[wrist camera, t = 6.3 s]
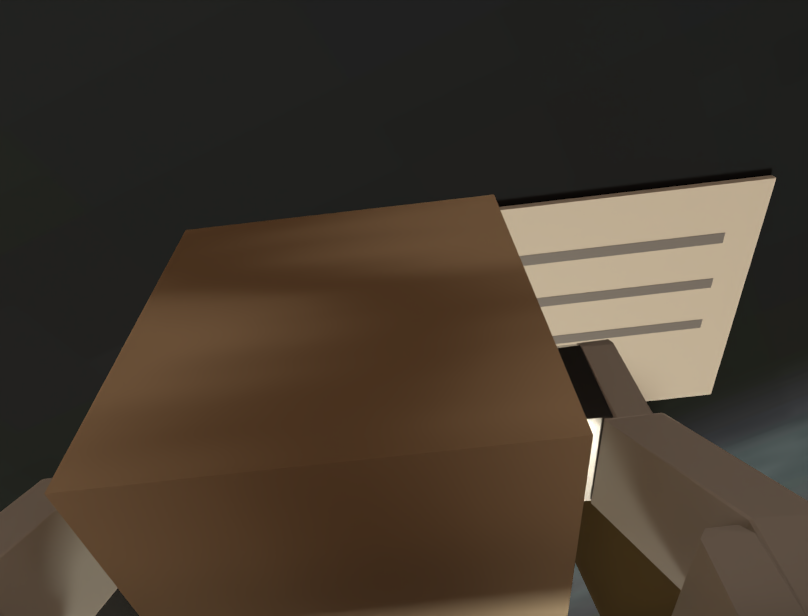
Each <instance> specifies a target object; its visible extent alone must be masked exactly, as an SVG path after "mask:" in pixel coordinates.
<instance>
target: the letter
mask: <svg viewBox="0 0 808 616" xmlns="http://www.w3.org/2000/svg"><path fill="white" fill-rule="evenodd" d="M775 181H776V178H775V177H774V176H772V175H768V176H760V177H751V178H743V179H734V180H725V181H717V182H708V183H700V184H691V185H683V186H674V187H666V188H657V189H648V190H640V191H631V192H623V193H614V194H606V195H597V196H589V197H580V198H571V199H563V200H554V201H546V202H537V203H529V204H520V205H512V206H503V207H499V208H500V211H501V213H502V215H503V218H504V220H505V223H506V225H507V227H508V230H509V232H510V235H511V237H512V240H513V242H514V244H515V247H516V249H517V252H518V254H519V257H520V259H521V261H522V264H523V266H524V269H525V271H526V273H527V276H528V278H529V281H530V283H531V286H532V288H533V290H534V293H535V295H536V298H537V300H538V302H539V305H540V307H541V310H542V312H543V315H544V317H545V319H546V322H547V324H548V327H549V329H550V331H551V334H552V336H553V339H554V341H555V344H556V346H561V345H570V344H577V343H582V342H590V341H598V340H606V339H609V340H610V341H612V342H613V343H614V345H615V346H616V348H617V350H618V352H619V354H620V355H621V357H622V359H623V361H624V363H625V364H626V366H627V368H628V370H629V372H630V374H631V375H632V377H633V379H634V381H635V383H636V384H637V386H638V388H639V390H640V392H641V393H642V395H643V397H644V399H645V401H654V400H663V399H672V398H681V397H690V396H699V395H708V394H711V392H712V388H713V385H714V382H715V378H716V375H717V372H718V369H719V365H720V362H721V359H722V355H723V352H724V349H725V346H726V342H727V339H728V336H729V332H730V329H731V326H732V322H733V319H734V316H735V313H736V309H737V306H738V303H739V299H740V296H741V293H742V289H743V286H744V283H745V280H746V276H747V273H748V270H749V266H750V263H751V260H752V256H753V253H754V250H755V247H756V243H757V240H758V237H759V233H760V230H761V227H762V223H763V220H764V217H765V214H766V210H767V207H768V204H769V200H770V197H771V194H772V190H773V187H774V184H775Z"/></svg>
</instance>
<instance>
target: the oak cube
mask: <svg viewBox="0 0 808 616" xmlns="http://www.w3.org/2000/svg"><path fill="white" fill-rule="evenodd" d="M592 441H593V433H592V431H591V428H590V426H589V423H588V421H587V418H586V416H585V414H584V411H583V409H582V406H581V404H580V402H579V399H578V397H577V394H576V392H575V389H574V387H573V385H572V382H571V380H570V377H569V375H568V373H567V370H566V368H565V365H564V363H563V360H562V358H561V356H560V353H559V351H558V348H557V346H556V344H555V341H554V339H553V336H552V334H551V331H550V329H549V327H548V324H547V322H546V319H545V317H544V315H543V312H542V310H541V307H540V305H539V302H538V300H537V298H536V295H535V293H534V290H533V288H532V286H531V283H530V281H529V278H528V276H527V273H526V271H525V269H524V266H523V264H522V261H521V259H520V257H519V254H518V252H517V249H516V247H515V244H514V242H513V240H512V237H511V235H510V232H509V230H508V227H507V225H506V223H505V220H504V218H503V215H502V213H501V211H500V208H499V206H498V203H497V201H496V198H495V196H494V195H487V196H478V197H470V198H461V199H452V200H444V201H435V202H426V203H417V204H409V205H400V206H391V207H383V208H374V209H365V210H357V211H348V212H339V213H331V214H322V215H313V216H305V217H296V218H287V219H278V220H270V221H261V222H252V223H244V224H235V225H226V226H218V227H209V228H200V229H192V230H186V231H185V233H184V234H183V236H182V238H181V240H180V242H179V244H178V246H177V247H176V249H175V251H174V253H173V255H172V257H171V259H170V261H169V262H168V264H167V266H166V268H165V270H164V272H163V274H162V275H161V277H160V279H159V281H158V283H157V285H156V287H155V288H154V290H153V292H152V294H151V296H150V298H149V300H148V301H147V303H146V305H145V307H144V309H143V311H142V313H141V314H140V316H139V318H138V320H137V322H136V324H135V326H134V327H133V329H132V331H131V333H130V335H129V337H128V339H127V341H126V342H125V344H124V346H123V348H122V350H121V352H120V354H119V355H118V357H117V359H116V361H115V363H114V365H113V367H112V368H111V370H110V372H109V374H108V376H107V378H106V380H105V381H104V383H103V385H102V387H101V389H100V391H99V393H98V394H97V396H96V398H95V400H94V402H93V404H92V406H91V407H90V409H89V411H88V413H87V415H86V417H85V419H84V421H83V422H82V424H81V426H80V428H79V430H78V432H77V434H76V435H75V437H74V439H73V441H72V443H71V445H70V447H69V448H68V450H67V452H66V454H65V456H64V458H63V460H62V461H61V463H60V465H59V467H58V469H57V471H56V473H55V474H54V476H53V478H52V480H51V482H50V484H49V486H48V487H47V489H46V491H45V493H44V494H45V496H46V497H47V498H48V499H49V501H50V502H51V503H52V505H53V506H54V507H55V508H56V510H57V511H58V512H59V513H60V515H61V516H62V517H63V519H64V520H65V521H66V522H67V524H68V525H69V526H70V528H71V529H72V530H73V531H74V533H75V534H76V535H77V537H78V538H79V539H80V540H81V542H82V543H83V544H84V545H85V547H86V548H87V549H88V551H89V552H90V553H91V554H92V556H93V557H94V558H95V560H96V561H97V562H98V563H99V565H100V566H101V567H102V569H103V570H104V571H105V572H106V574H107V575H108V576H109V577H110V579H111V580H112V581H113V583H114V584H115V585H116V586H117V588H118V589H119V590H120V592H121V593H122V594H123V595H124V597H125V598H126V599H127V600H128V602H129V603H130V604H131V606H132V607H133V608H134V609H135V611H136V612H137V613H138V615H139V616H567V615H568V608H569V601H570V594H571V587H572V580H573V573H574V566H575V559H576V552H577V545H578V539H579V532H580V525H581V518H582V511H583V504H584V497H585V490H586V483H587V476H588V469H589V462H590V455H591V448H592Z"/></svg>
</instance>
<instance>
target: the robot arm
mask: <svg viewBox="0 0 808 616" xmlns="http://www.w3.org/2000/svg"><path fill="white" fill-rule="evenodd" d="M557 348H558V351H559V353H560V356H561V358H562V360H563V363H564V365H565V368H566V370H567V373H568V375H569V377H570V380H571V382H572V385H573V387H574V389H575V392H576V394H577V397H578V399H579V402H580V404H581V406H582V409H583V411H584V414H585V416H586V418H587V421H588V423H589V426H590V428H591V431H592V433H593V441H592V448H591V455H590V462H589V469H588V476H587V483H586V490H585V497H584V501H590V500H591V504H592V505H594V506H595V507H596V508H597V509H598V510H599V511H600V512H601V513H602V514H603V515H604V516H605V517H606V518H607V519H608V520H609V521H610V522H611V523H612V524H613V525H614V526H615V527H616V528H617V529H618V530H619V531H620V532H621V533H622V534H623V535H624V536H625V537H627V538H628V539H629V540H630V541H631V542H632V543H633V544H634V545H635V546H636V547H637V548H638V549H639V550H640V551H641V552H642V553H643V554H644V555H645V556H646V557H647V558H648V559H649V560H650V561H651V562H652V563H653V564H654V565H655V566H656V567H657V568H658V569H660V570H661V571H662V572H663V573H664V574H665V575H666V576H667V577H668V578H669V579H670V580H671V581H672V582H673V583H674V584H675V585H676V586H677V587H678V588H679V589H680V590H681V592H680V595H679V597H678V600H677V603H676V605H675V608H674V610H673V613H672V616H808V501H807V500H805V499H803V498H802V497H800V496H798V495H797V494H795V493H794V492H792V491H790V490H789V489H787V488H785V487H784V486H782V485H780V484H779V483H777V482H775V481H774V480H772V479H771V478H769V477H767V476H766V475H764V474H762V473H761V472H759V471H757V470H756V469H754V468H753V467H751V466H749V465H748V464H746V463H744V462H743V461H741V460H739V459H738V458H736V457H734V456H733V455H731V454H730V453H728V452H726V451H725V450H723V449H721V448H720V447H718V446H716V445H715V444H713V443H712V442H710V441H708V440H707V439H705V438H703V437H702V436H700V435H698V434H697V433H695V432H694V431H692V430H690V429H689V428H687V427H685V426H684V425H682V424H680V423H679V422H677V421H675V420H674V419H672V418H671V417H669V416H667V415H666V414H664V413H655V414H653V413H652V411H651V410H650V408H649V406H648V404H647V402H646V401H645V399H644V397H643V395H642V393H641V392H640V390H639V388H638V386H637V384H636V383H635V381H634V379H633V377H632V375H631V374H630V372H629V370H628V368H627V366H626V364H625V363H624V361H623V359H622V357H621V355H620V354H619V352H618V350H617V348H616V346H615V345H614V343H613V342H612V341H610V340H609V339H606V340H598V341H590V342H582V343H577V344H570V345H561V346H557ZM51 480H52V478H48V479H42V480H41V481H40V482H38V483H37V484H36V485H35V486H33V487H32V488H31V489H29V490H28V491H27V492H26V493H24V494H23V495H22V496H20V497H19V498H18V499H17V500H15V501H14V502H13V503H12V504H10V505H9V506H8V507H6V508H5V509H4V510H3V511H1V512H0V616H95V615H96V614H97V612H98V611H99V610H100V609H101V608H102V606H103V605H104V604H105V603H106V602H107V600H108V599H109V598H110V597H111V595H112V594H113V593H114V592H115V591H116V589H117V586H116V585H115V584H114V583H113V581H112V580H111V579H110V577H109V576H108V575H107V574H106V572H105V571H104V570H103V569H102V567H101V566H100V565H99V563H98V562H97V561H96V560H95V558H94V557H93V556H92V554H91V553H90V552H89V551H88V549H87V548H86V547H85V545H84V544H83V543H82V542H81V540H80V539H79V538H78V537H77V535H76V534H75V533H74V531H73V530H72V529H71V528H70V526H69V525H68V524H67V522H66V521H65V520H64V519H63V517H62V516H61V515H60V513H59V512H58V511H57V510H56V508H55V507H54V506H53V505H52V503H51V502H50V501H49V499H48V498H47V497H46V496H45V494H44V493H45V491H46V489H47V487H48V486H49V484H50V482H51Z"/></svg>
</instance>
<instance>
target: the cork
mask: <svg viewBox="0 0 808 616" xmlns="http://www.w3.org/2000/svg"><path fill="white" fill-rule="evenodd" d="M575 563H576V565H577V567H578V569H579V571H580V573H581V576H582V578H583V580H584V582H585V584H586V586H587V589H588V591H589V593H590V595H591V597H592V599H593V601H594V604H595V606H596V608H597V610H598V612H599V614H600V616H672V613H673V610H674V608H675V605H676V603H677V600H678V597H679V595H680V592H681V590H680V589H679V588H678V587H677V586H676V585H675V584H674V583H673V582H672V581H671V580H670V579H669V578H668V577H667V576H666V575H665V574H664V573H663V572H662V571H661V570H660V569H658V568H657V567H656V566H655V565H654V564H653V563H652V562H651V561H650V560H649V559H648V558H647V557H646V556H645V555H644V554H643V553H642V552H641V551H640V550H639V549H638V548H637V547H636V546H635V545H634V544H633V543H632V542H631V541H630V540H629V539H628V538H627V537H625V536H624V535H623V534H622V533H621V532H620V531H619V530H618V529H617V528H616V527H615V526H614V525H613V524H612V523H611V522H610V521H609V520H608V519H607V518H606V517H605V516H604V515H603V514H602V513H601V512H600V511H599V510H598V509H597V508H596V507H595V506H594V505H592V504H591V500H590V501H584V504H583V511H582V518H581V525H580V532H579V539H578V545H577V552H576V559H575Z"/></svg>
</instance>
